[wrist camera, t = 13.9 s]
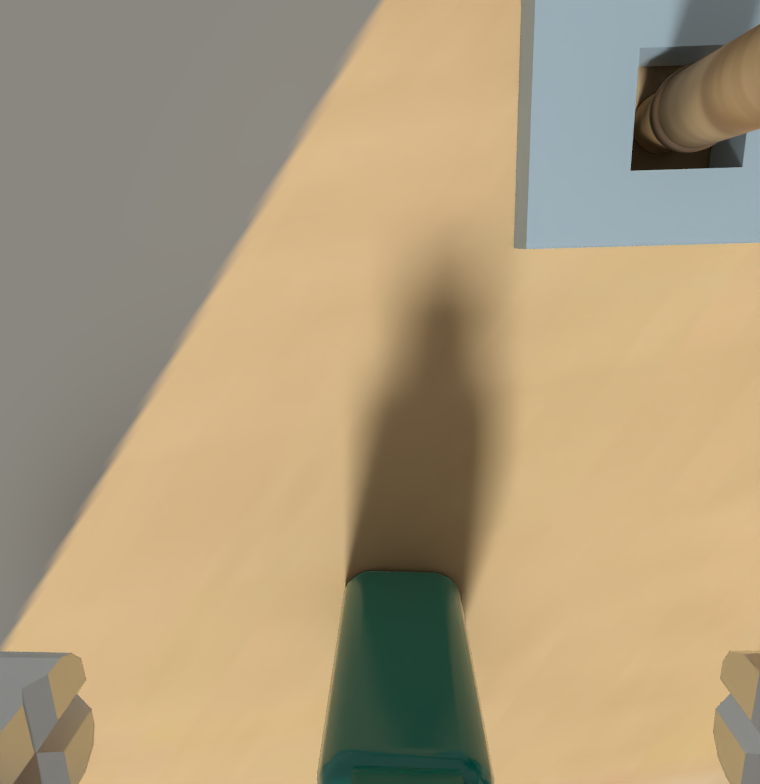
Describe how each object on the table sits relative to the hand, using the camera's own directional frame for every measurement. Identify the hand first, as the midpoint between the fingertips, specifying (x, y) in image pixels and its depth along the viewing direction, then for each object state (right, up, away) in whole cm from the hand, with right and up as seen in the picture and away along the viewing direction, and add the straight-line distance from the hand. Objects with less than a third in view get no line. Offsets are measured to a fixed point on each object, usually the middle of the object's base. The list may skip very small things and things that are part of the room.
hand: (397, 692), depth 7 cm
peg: (+16, +20, +27) cm, 37 cm away
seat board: (+16, +20, +27) cm, 37 cm away
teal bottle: (+1, -12, +36) cm, 38 cm away
